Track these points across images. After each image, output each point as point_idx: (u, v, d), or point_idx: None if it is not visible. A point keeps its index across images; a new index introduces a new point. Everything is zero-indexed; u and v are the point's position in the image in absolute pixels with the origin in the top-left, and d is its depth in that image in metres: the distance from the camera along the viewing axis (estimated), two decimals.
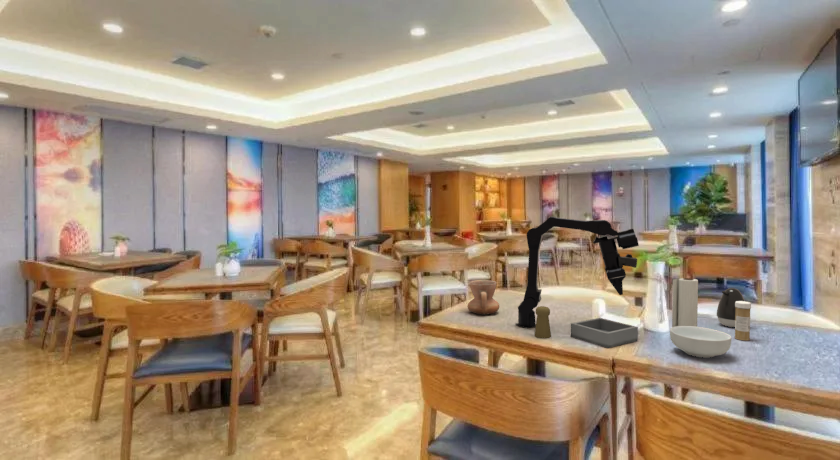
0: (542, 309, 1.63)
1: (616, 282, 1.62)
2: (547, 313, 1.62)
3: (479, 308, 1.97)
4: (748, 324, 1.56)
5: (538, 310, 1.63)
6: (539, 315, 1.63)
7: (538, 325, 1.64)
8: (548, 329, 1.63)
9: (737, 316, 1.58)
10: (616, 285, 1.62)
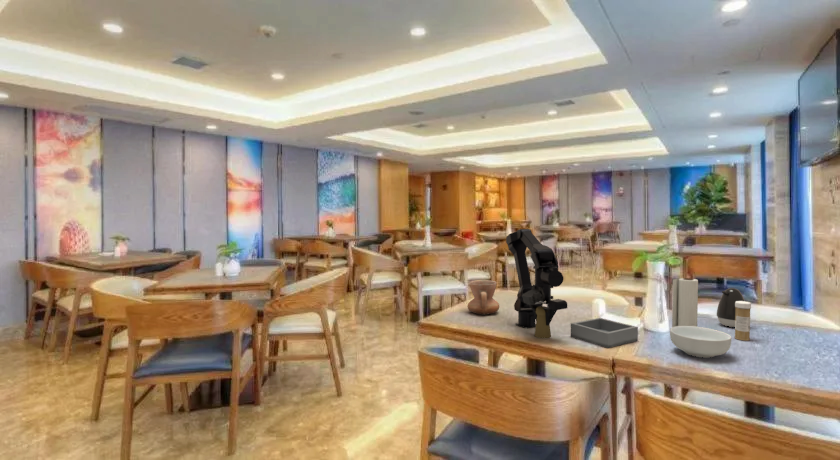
0: (542, 309, 1.63)
1: None
2: None
3: (479, 308, 1.97)
4: (748, 324, 1.56)
5: (538, 310, 1.63)
6: (539, 315, 1.63)
7: (538, 325, 1.64)
8: (548, 329, 1.63)
9: (737, 316, 1.58)
10: None
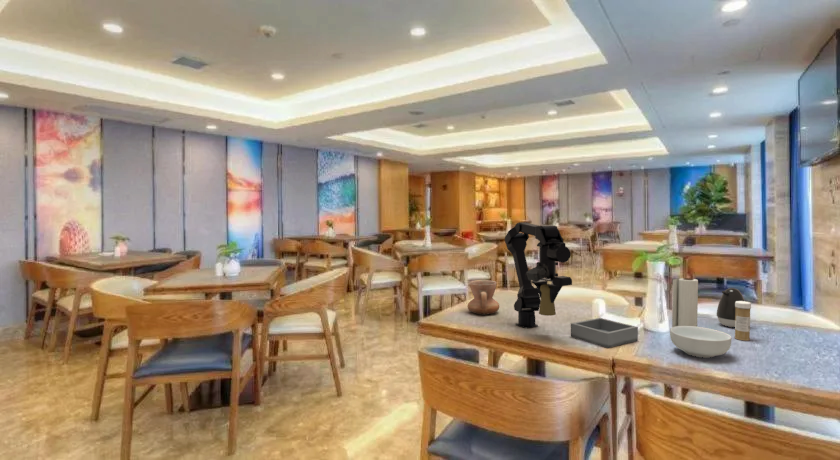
0: (546, 286, 1.62)
1: None
2: None
3: (479, 308, 1.97)
4: (748, 324, 1.56)
5: (542, 287, 1.63)
6: (543, 292, 1.63)
7: (542, 302, 1.63)
8: (553, 306, 1.62)
9: (737, 316, 1.58)
10: None
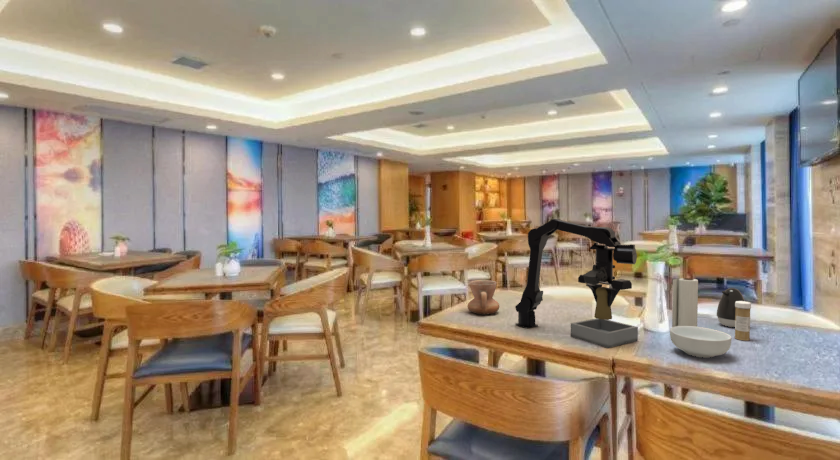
0: (604, 289, 1.58)
1: None
2: None
3: (479, 308, 1.97)
4: (748, 324, 1.56)
5: (599, 291, 1.59)
6: (600, 296, 1.59)
7: (599, 306, 1.59)
8: (609, 310, 1.58)
9: (737, 316, 1.58)
10: None
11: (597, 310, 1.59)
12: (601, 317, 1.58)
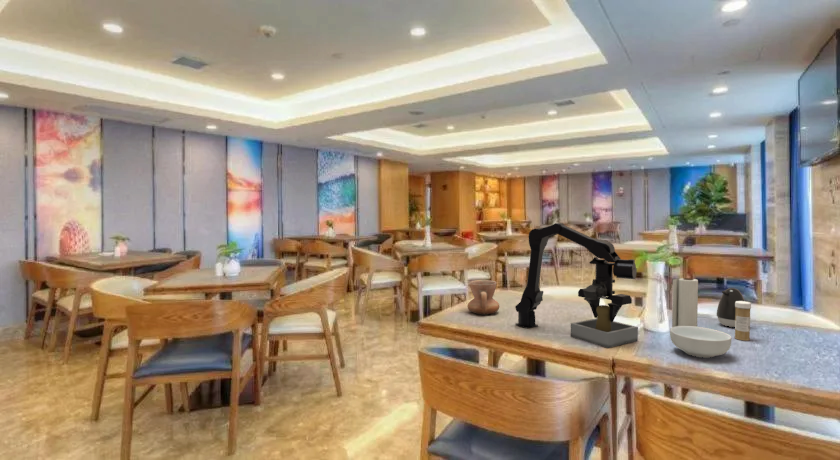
0: (604, 308, 1.58)
1: None
2: (609, 312, 1.58)
3: (479, 308, 1.97)
4: (748, 324, 1.56)
5: (600, 309, 1.59)
6: (601, 314, 1.59)
7: (599, 324, 1.59)
8: (609, 329, 1.59)
9: (737, 316, 1.58)
10: None
11: (597, 328, 1.60)
12: None
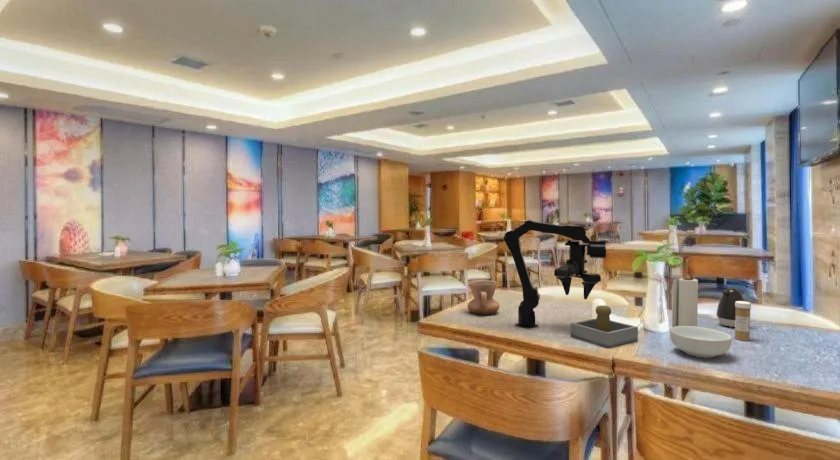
0: (603, 308, 1.58)
1: None
2: (608, 312, 1.58)
3: (479, 308, 1.97)
4: (748, 324, 1.56)
5: (599, 309, 1.59)
6: (600, 314, 1.59)
7: (599, 325, 1.59)
8: (609, 329, 1.59)
9: (737, 316, 1.58)
10: None
11: (597, 329, 1.60)
12: None
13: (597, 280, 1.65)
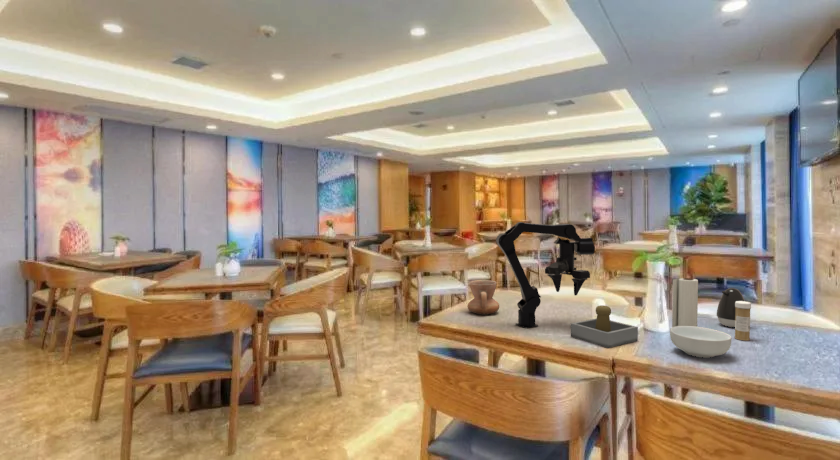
0: (603, 308, 1.58)
1: None
2: (608, 312, 1.58)
3: (479, 308, 1.97)
4: (748, 324, 1.56)
5: (599, 309, 1.59)
6: (600, 314, 1.59)
7: (599, 325, 1.59)
8: (609, 329, 1.59)
9: (737, 316, 1.58)
10: None
11: (597, 329, 1.60)
12: None
13: (586, 276, 1.71)
